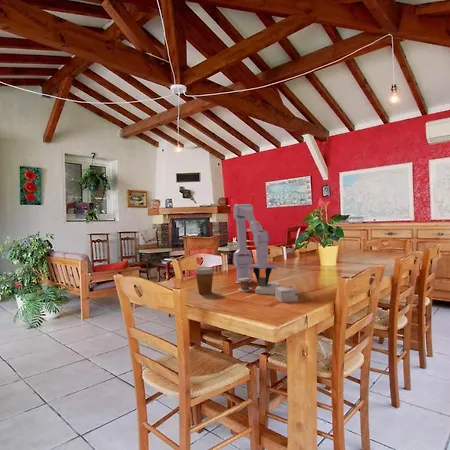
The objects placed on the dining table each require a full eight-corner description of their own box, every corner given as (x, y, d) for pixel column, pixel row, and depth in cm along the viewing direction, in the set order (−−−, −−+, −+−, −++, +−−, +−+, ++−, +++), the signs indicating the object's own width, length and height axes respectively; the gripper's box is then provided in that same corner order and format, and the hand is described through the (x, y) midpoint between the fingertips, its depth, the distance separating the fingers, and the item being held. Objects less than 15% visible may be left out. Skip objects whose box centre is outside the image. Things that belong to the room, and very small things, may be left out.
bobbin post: (240, 288, 171) (239, 277, 171) (253, 288, 168) (253, 277, 168) (236, 291, 164) (236, 280, 164) (250, 291, 162) (249, 280, 162)
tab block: (260, 287, 167) (260, 277, 167) (267, 287, 166) (267, 277, 166) (258, 288, 163) (258, 278, 163) (265, 289, 162) (265, 279, 162)
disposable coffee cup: (217, 290, 167) (216, 267, 166) (211, 295, 157) (210, 270, 157) (199, 290, 169) (198, 267, 169) (192, 294, 160) (191, 269, 160)
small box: (280, 302, 140) (280, 290, 140) (274, 298, 148) (274, 286, 148) (298, 301, 141) (298, 289, 141) (291, 297, 149) (291, 285, 149)
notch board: (262, 286, 173) (262, 282, 172) (279, 287, 170) (279, 282, 170) (255, 293, 157) (255, 288, 157) (274, 294, 154) (274, 289, 154)
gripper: (245, 257, 163) (246, 284, 163) (275, 257, 158) (276, 285, 158) (249, 255, 169) (250, 281, 169) (277, 255, 165) (278, 282, 165)
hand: (262, 283), depth 164 cm, fingers closed on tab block, 3 cm apart
